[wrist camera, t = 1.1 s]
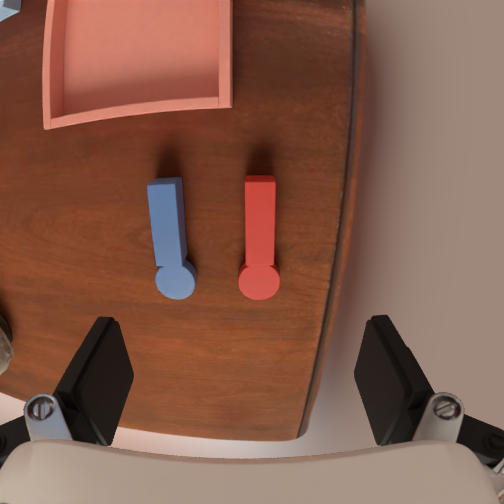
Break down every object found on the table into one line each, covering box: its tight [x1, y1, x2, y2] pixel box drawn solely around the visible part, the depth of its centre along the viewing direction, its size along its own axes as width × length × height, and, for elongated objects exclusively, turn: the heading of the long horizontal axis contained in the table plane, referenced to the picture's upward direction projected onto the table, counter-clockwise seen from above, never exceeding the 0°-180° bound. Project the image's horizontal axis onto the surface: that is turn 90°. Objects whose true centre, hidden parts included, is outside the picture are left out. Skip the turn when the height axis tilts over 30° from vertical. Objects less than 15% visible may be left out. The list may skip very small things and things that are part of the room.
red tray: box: [43, 0, 233, 130], centre depth 16 cm, size 13×13×3 cm
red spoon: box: [238, 175, 280, 300], centre depth 23 cm, size 3×10×2 cm, turn 0°
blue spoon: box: [147, 177, 197, 299], centre depth 23 cm, size 3×10×2 cm, turn 0°
